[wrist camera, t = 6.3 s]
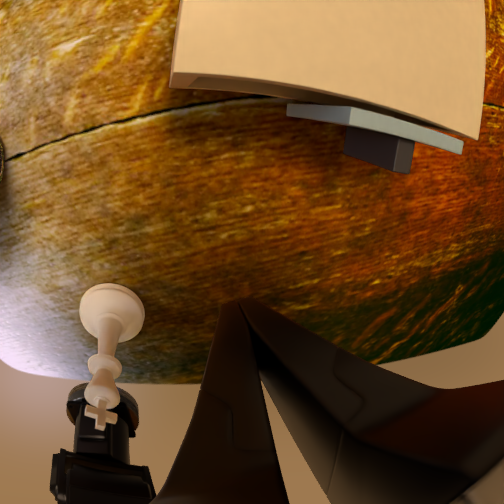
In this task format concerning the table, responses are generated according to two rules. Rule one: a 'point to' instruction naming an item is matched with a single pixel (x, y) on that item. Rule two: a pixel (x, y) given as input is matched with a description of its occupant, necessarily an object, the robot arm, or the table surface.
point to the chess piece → (108, 343)
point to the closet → (342, 55)
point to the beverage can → (1, 162)
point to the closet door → (377, 135)
